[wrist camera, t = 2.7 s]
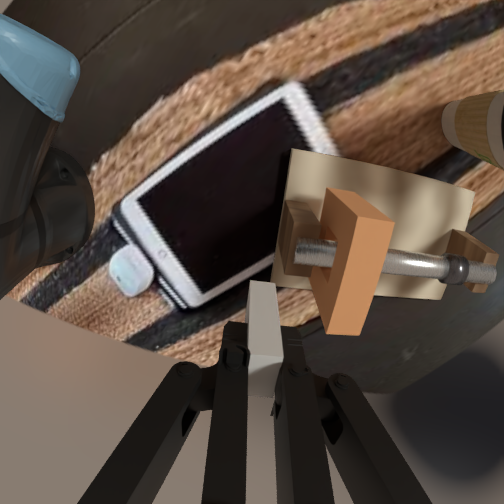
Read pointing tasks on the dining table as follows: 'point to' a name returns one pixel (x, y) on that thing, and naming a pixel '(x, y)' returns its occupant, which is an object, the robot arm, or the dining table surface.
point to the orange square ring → (350, 260)
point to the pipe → (403, 263)
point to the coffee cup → (477, 126)
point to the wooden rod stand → (389, 203)
